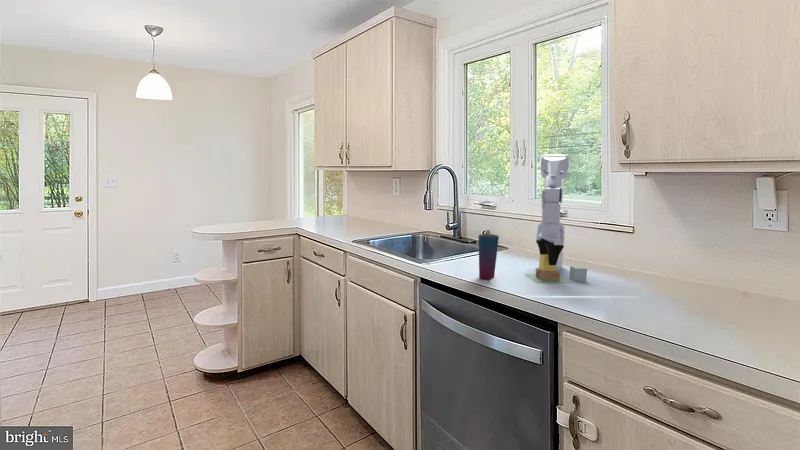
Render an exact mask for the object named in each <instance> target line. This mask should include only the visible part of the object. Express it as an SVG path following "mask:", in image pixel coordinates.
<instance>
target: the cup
mask: <svg viewBox="0 0 800 450" xmlns="http://www.w3.org/2000/svg"><path fill="white" fill-rule="evenodd" d="M499 238H500V237H499V235H498V234H493V233H492V234H491V233H481V234H478V272H479V273H478V278H479V279H480V280H483V281H491V279H493V278H495V272H496V266H497V265H496V264H497V255H498V248H499V247H498V245H499Z"/></svg>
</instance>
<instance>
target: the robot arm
mask: <svg viewBox="0 0 800 450" xmlns="http://www.w3.org/2000/svg"><path fill="white" fill-rule="evenodd" d="M540 157H541V158H540V175H541V178H542V179H544V181H543V182H544V183H543V188H542V189H541V210H542V211H541V222H540V223H539V224H537V230H536V240H535V242H536V245H537V246H538V249H539V254H538V255H539V256H538V257H539V258H538V266H536V267H534V269H536V268H539V266H540V254H548V261H549V265H556V266H555V269H556V270H558V271H560V270H562V269H565V266H563V260H564V259H563V258H564V253H563V249H564V247H565V226H564V224H562V223H561V222H560V220H561V219H560V218H561V208H562V206H561V205H562V203H563V197H564V196H563V193H564V190H563V185H562V184H563V179H566V178H567V175H568V170H569V160H570V159H569V157H570V156H569V154H567V153H566V154H544V153H543V154H542V155H541V156H540Z"/></svg>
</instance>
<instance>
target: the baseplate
mask: <svg viewBox="0 0 800 450" xmlns="http://www.w3.org/2000/svg"><path fill="white" fill-rule="evenodd" d="M524 275H525V276H526V277H527V278H529V279H530V280H532V282H534V283H536V284H572V282H571V281H570V280H568V279H566V278H565V277H563V276H561V275H560V281H542V280H540V279H539V278H538V277H536V273H535V274H534V273H529V274H528V273H525V274H524Z"/></svg>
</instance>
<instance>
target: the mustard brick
mask: <svg viewBox="0 0 800 450" xmlns="http://www.w3.org/2000/svg"><path fill="white" fill-rule="evenodd" d="M538 266H539V265H538ZM555 266H556V265H549V261H548V254H540V266H539V269H541V270H542V271H555Z"/></svg>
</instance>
